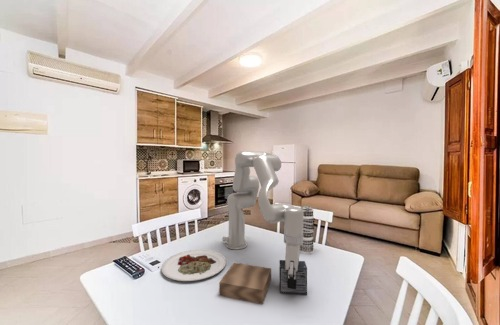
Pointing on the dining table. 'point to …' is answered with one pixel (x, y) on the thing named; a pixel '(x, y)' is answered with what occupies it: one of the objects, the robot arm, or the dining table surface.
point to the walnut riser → (246, 282)
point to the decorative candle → (307, 230)
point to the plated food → (193, 265)
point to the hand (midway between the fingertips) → (292, 282)
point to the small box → (300, 279)
